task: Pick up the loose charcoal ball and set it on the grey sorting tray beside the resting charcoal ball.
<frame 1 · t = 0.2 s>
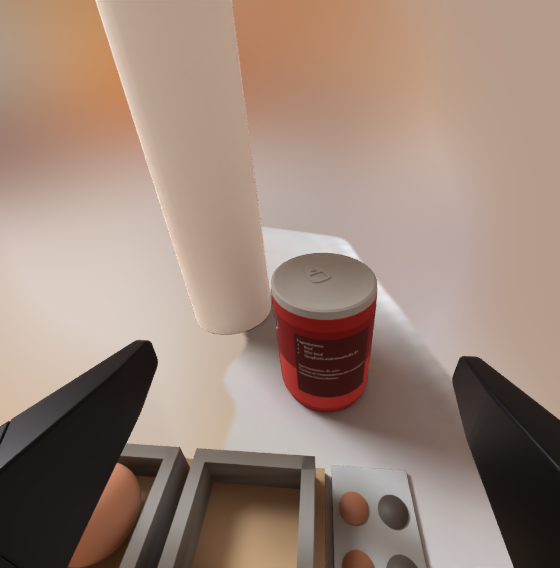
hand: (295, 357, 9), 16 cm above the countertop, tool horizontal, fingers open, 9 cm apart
terracotta ball 2: (94, 510, 18), point 3 cm above the countertop, touching grey sorting tray
cylinder container: (234, 309, 38), on the countertop
canned food: (323, 377, 29), on the countertop
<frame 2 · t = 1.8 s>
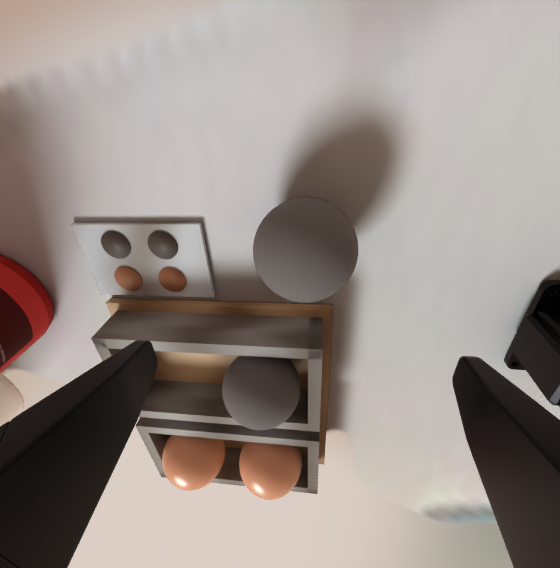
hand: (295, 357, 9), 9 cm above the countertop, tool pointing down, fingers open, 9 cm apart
terracotta ball 2: (194, 454, 25), point 3 cm above the countertop, touching grey sorting tray
terracotta ball 1: (270, 461, 25), point 3 cm above the countertop, touching grey sorting tray
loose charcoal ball: (304, 250, 15), point 2 cm above the countertop
resting charcoal ball: (261, 387, 20), point 3 cm above the countertop, touching grey sorting tray
grey sorting tray: (234, 390, 25), on the countertop
canned food: (7, 292, 22), on the countertop
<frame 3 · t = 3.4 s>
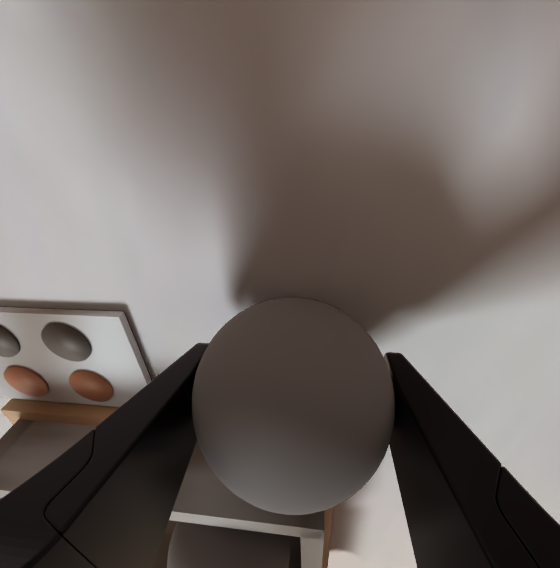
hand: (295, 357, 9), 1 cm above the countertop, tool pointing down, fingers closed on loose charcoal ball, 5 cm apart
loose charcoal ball: (292, 393, 8), point 2 cm above the countertop, touching gripper
resting charcoal ball: (230, 548, 13), point 3 cm above the countertop, touching grey sorting tray
grey sorting tray: (201, 504, 18), on the countertop
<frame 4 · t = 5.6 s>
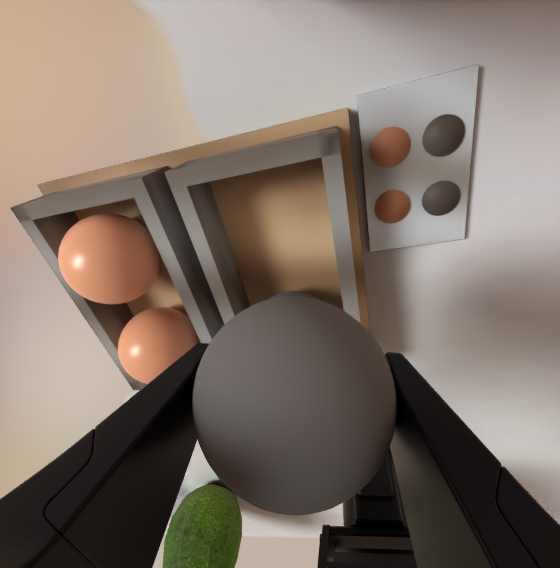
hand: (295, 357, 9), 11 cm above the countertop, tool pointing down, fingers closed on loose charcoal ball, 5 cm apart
terracotta ball 2: (113, 259, 17), point 3 cm above the countertop, touching grey sorting tray
terracotta ball 1: (160, 344, 20), point 3 cm above the countertop, touching grey sorting tray
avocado: (218, 484, 36), on the countertop
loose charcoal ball: (293, 393, 8), point 12 cm above the countertop, touching gripper
grey sorting tray: (221, 271, 20), on the countertop
when the fingers open (4 cm above the countertop, at t = 7.6 s): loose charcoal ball drops 3 cm, resting on grey sorting tray.
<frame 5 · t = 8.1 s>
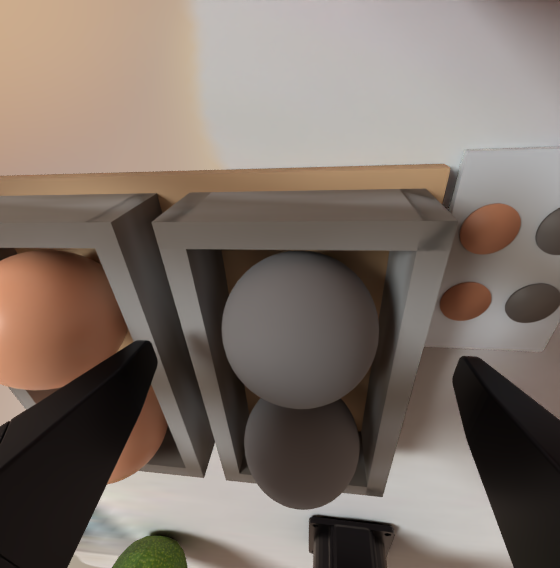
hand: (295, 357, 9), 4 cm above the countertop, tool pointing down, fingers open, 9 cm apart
terracotta ball 2: (53, 318, 11), point 3 cm above the countertop, touching grey sorting tray
terracotta ball 1: (113, 422, 15), point 3 cm above the countertop, touching grey sorting tray
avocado: (165, 533, 31), on the countertop
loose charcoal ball: (299, 326, 10), point 3 cm above the countertop, touching grey sorting tray
resting charcoal ball: (301, 439, 13), point 3 cm above the countertop, touching grey sorting tray
grey sorting tray: (212, 332, 15), on the countertop
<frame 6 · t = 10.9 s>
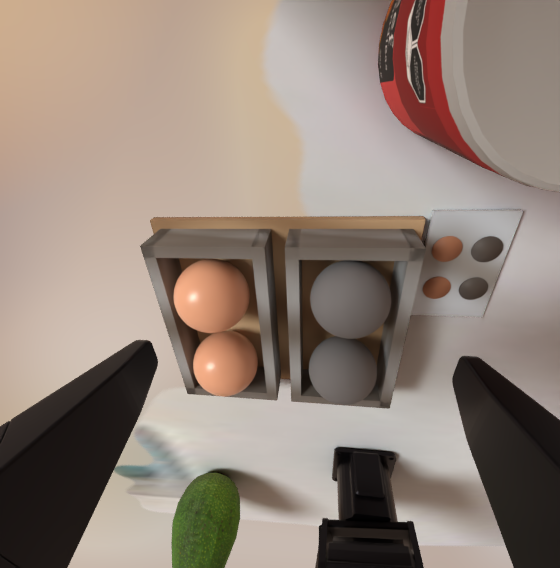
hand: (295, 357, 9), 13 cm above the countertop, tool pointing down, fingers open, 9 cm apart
terracotta ball 2: (212, 295, 21), point 3 cm above the countertop, touching grey sorting tray
terracotta ball 1: (226, 362, 24), point 3 cm above the countertop, touching grey sorting tray
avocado: (219, 472, 41), on the countertop
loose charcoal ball: (349, 299, 19), point 3 cm above the countertop, touching grey sorting tray
resting charcoal ball: (342, 369, 23), point 3 cm above the countertop, touching grey sorting tray
grey sorting tray: (285, 308, 24), on the countertop
canned food: (456, 48, 15), on the countertop
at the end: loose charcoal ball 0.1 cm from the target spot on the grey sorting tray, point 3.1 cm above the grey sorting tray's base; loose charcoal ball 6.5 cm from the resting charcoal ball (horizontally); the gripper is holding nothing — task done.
